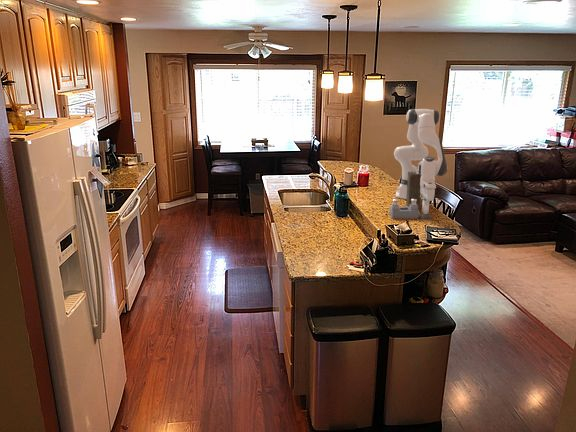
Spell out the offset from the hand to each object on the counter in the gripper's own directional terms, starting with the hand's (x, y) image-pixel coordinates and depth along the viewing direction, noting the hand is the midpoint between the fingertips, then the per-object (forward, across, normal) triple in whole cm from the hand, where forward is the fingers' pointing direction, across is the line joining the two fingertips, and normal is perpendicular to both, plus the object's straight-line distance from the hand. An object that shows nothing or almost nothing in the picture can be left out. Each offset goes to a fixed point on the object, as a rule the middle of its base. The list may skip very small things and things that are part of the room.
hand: (425, 204), depth 295 cm
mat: (+9, 0, 0) cm, 9 cm away
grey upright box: (+9, -26, -2) cm, 28 cm away
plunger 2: (+4, -3, -7) cm, 8 cm away
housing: (+9, -3, -13) cm, 16 cm away
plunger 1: (+4, -3, -19) cm, 20 cm away
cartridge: (+6, 0, 0) cm, 6 cm away
